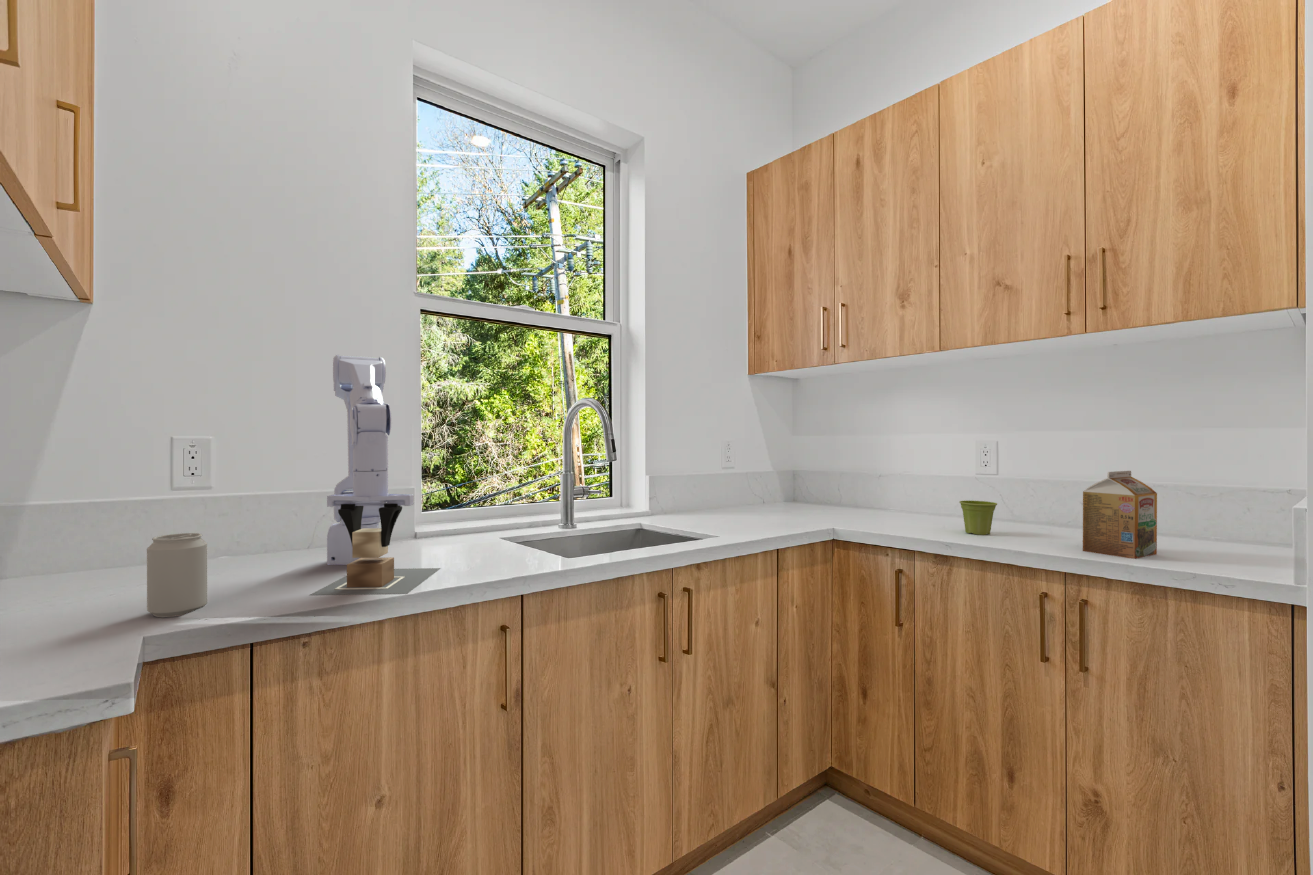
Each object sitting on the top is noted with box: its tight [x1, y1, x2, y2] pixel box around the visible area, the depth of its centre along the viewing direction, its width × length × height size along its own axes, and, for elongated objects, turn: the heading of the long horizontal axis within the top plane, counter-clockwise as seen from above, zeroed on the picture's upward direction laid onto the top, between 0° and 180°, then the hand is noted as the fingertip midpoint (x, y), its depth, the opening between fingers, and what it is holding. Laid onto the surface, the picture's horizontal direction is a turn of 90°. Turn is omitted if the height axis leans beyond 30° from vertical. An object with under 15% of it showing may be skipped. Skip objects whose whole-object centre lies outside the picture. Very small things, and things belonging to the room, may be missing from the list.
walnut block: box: [346, 556, 395, 587], centre depth 113 cm, size 6×6×4 cm
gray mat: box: [309, 567, 442, 596], centre depth 115 cm, size 16×20×1 cm
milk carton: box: [1082, 470, 1158, 560], centre depth 146 cm, size 11×11×19 cm
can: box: [146, 532, 208, 618], centre depth 98 cm, size 8×8×12 cm
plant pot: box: [958, 500, 998, 536], centre depth 174 cm, size 9×9×9 cm
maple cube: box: [352, 527, 389, 558], centre depth 113 cm, size 4×4×4 cm
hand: (371, 546), depth 113 cm, fingers closed on maple cube, 4 cm apart
